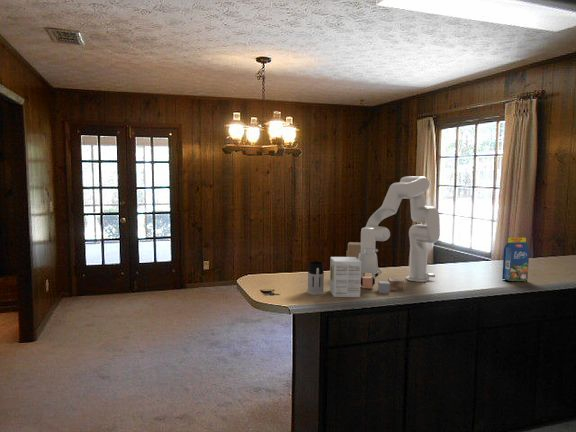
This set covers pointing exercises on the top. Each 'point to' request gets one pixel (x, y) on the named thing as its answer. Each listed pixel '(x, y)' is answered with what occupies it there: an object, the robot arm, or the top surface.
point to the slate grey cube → (383, 287)
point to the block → (354, 250)
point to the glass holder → (316, 278)
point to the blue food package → (516, 260)
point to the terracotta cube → (367, 282)
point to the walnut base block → (396, 283)
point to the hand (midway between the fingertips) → (367, 285)
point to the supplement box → (345, 276)
